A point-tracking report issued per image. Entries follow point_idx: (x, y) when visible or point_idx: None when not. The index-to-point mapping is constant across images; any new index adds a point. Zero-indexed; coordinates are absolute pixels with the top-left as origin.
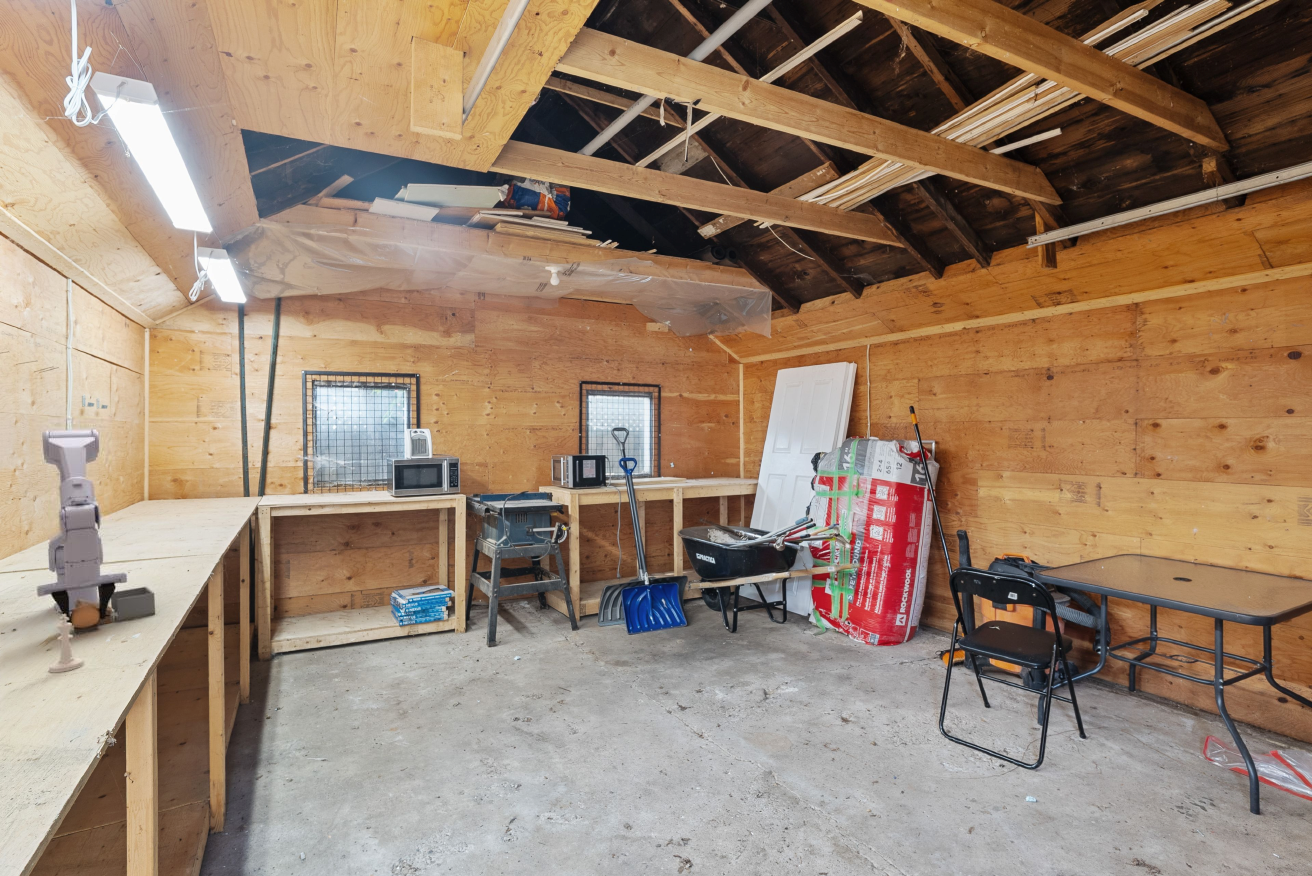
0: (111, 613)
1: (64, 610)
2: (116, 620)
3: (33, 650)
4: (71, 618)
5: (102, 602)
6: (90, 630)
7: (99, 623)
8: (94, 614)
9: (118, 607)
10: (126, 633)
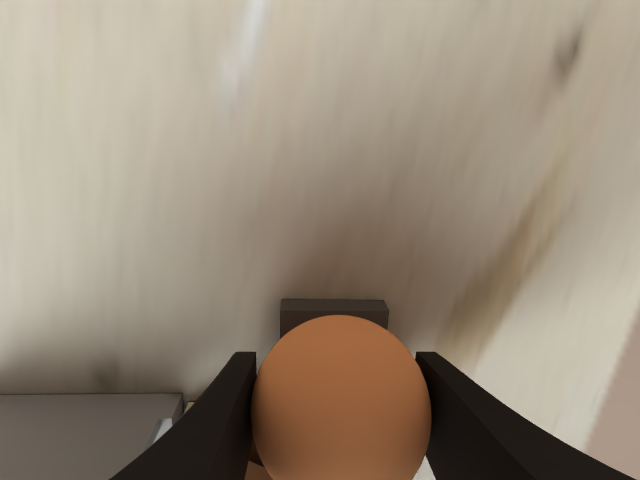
0: None
1: (519, 422)
2: (178, 398)
3: (616, 125)
4: (426, 385)
5: (215, 438)
6: (317, 300)
7: None
8: (294, 353)
9: None
10: (150, 35)
